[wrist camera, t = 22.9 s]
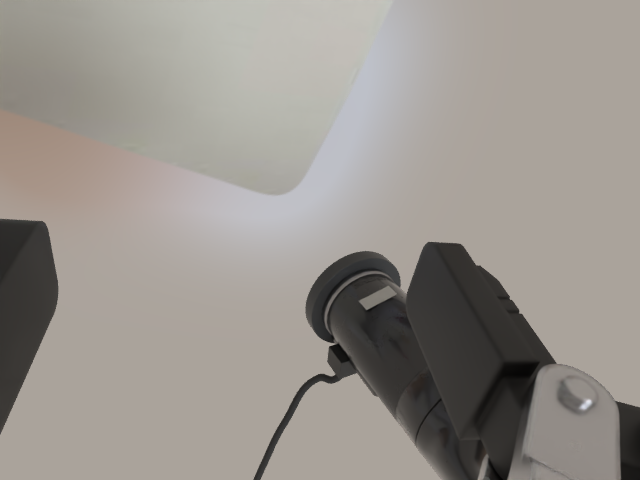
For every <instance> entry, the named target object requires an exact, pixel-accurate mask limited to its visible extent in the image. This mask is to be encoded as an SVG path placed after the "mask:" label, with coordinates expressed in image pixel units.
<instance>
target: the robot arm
mask: <svg viewBox="0 0 640 480" xmlns="http://www.w3.org/2000/svg"><path fill="white" fill-rule="evenodd" d="M509 298H510V296H509V295H508V294H507V292H506V291H505V289H504V288H503V286H502V285H501V284H500V282H499V281H498V280H497V279H496V278H495V277H493V276H492V275H491V274H490V273H489V272H487V271H486V270H485V269H484V268H482V267H481V266H476V265H475V263H474V262H473V260H472V259H471V257H470V256H469V254H468V252H467V251H466V250H465V248H464V247H463V246H462V245H461V244H457V243H439V242H428V243H427V244H426V245H425V246H424V247H423V250H422V252H421V255H420V258H419V261H418V263H417V266H416V269H415V272H414V275H413V277H412V280H411V283H410V286H409V289H408V292H407V294H406V293H405V292H404V291H403V290H402V289H401V288H400V287H399V286H397V285H396V284H395V283H394V281H393V280H392V279H391V278H390V277H389V276H388V275H387V274H386V273H385V272H384V271H382V270H379V269H374V268H369V269H363V270H359V271H357V272H354V273H352V274H351V275H349V276H347V277H346V278H344V279H343V280H342V281H341V282H339V283H338V284H337V285H336V286H335V287H334V289H333V290H332V291H331V292H330V294H329V296H328V297H327V299H326V301H325V304H324V306H323V311H322V320H323V324H324V326H325V327H326V329H327V330H328V332H329V333H330V334H331V335H332V337H331V338H332V340H333V341H334V343H335V344H336V345H333V346H330V347H329V353H328V361H327V362H328V363H329V365H330V366H331V368H332V369H333V371H334V372H335V374H336V375H334V376H332V377H331V376H328V375H325V374H318V375H316V376H314V377H312V378H311V379H309V380H308V381H307V382H306V383H304V384H303V386H302V387H301V388H300V389H299V391H298V392H297V394H296V396H295V397H294V399H293V401H292V403H291V405H290V407H289V409H288V411H287V413H286V415H285V416H284V418H283V420H282V421H281V423H280V425H279V426H278V428H277V430H276V432H275V433H274V435H273V438H272V439H271V442H270V444H269V446H268V448H267V450H266V453H265V455H264V457H263V459H262V462H261V464H260V466H259V468H258V470H257V473H256V475H255V477H254V480H260V479H261V477H262V475H263V473H264V470H265V468H266V466H267V464H268V461H269V459H270V457H271V455H272V453H273V451H274V448H275V446H276V444H277V442H278V440H279V438H280V436H281V434H282V433H283V431H284V429H285V427H286V426H287V424H288V422H289V421H290V419H291V417H292V416H293V414H294V412H295V410H296V408H297V406H298V404H299V402H300V400H301V398H302V397H303V395H304V394H305V392H306V391H307V390H308V389H309V388H310V387H311V386H312V385H314V384H315V383H317V382H319V381H324V382H327V383H331V384H332V383H335V382H337V381H340V380H341V379H342V378H344V377H347V376H350V375H352V374H355V373H357V374H358V375H359V376H360V378H361V379H362V380H363V382H364V383H365V384H366V386H367V387H368V388H369V390H370V391H371V392H372V394H373V395H374V396H378V397H379V398H380V399H381V401H382V402H383V403H384V405H385V406H386V407H387V409H388V410H389V411H390V413H391V414H392V415H393V417H394V418H395V419H396V421H397V422H398V423H399V424H400V426H401V427H402V428H403V430H404V431H405V432H406V434H407V435H408V436H409V438H410V439H411V440H412V442H413V443H414V444H415V446H416V447H417V449H418V450H419V451H420V453H421V454H422V455H423V457H424V458H425V459H426V461H427V462H428V463H429V464H430V466H431V467H432V468H433V469H434V471H435V472H436V473H437V474H438V476H439V477H440V478H441V479H442V480H640V407H635V406H632V405H628V404H625V403H621V402H617V401H615V400H614V399H613V397H612V396H611V394H610V393H609V392H608V391H607V390H606V389H605V387H603V386H602V385H601V384H600V383H599V382H598V381H597V380H595V379H594V378H593V377H591V376H589V375H588V374H586V373H585V372H583V371H581V370H579V369H576V368H574V367H571V366H567V365H563V364H557V363H556V362H555V360H554V359H553V358H552V356H551V355H550V353H549V352H548V350H547V349H546V348H545V346H544V345H543V343H542V342H541V341H540V339H539V338H538V336H537V335H536V333H535V332H534V331H533V329H532V328H531V326H530V325H529V323H528V322H527V321H526V319H525V318H524V316H523V315H522V314H519V309H518V308H517V306H516V305H515V303H514V302H513V301H512V300H510V299H509ZM57 300H58V280H57V275H56V270H55V264H54V259H53V253H52V249H51V243H50V237H49V232H48V228H47V226H46V224H45V223H44V222H43V221H28V220H10V219H0V434H1V432H2V429H3V427H4V425H5V423H6V420H7V418H8V416H9V413H10V411H11V409H12V407H13V405H14V402H15V400H16V398H17V396H18V393H19V391H20V389H21V387H22V384H23V382H24V380H25V378H26V375H27V373H28V371H29V369H30V366H31V364H32V362H33V360H34V357H35V355H36V353H37V351H38V348H39V346H40V344H41V341H42V339H43V337H44V335H45V333H46V330H47V328H48V326H49V323H50V321H51V319H52V317H53V315H54V312H55V309H56V305H57Z"/></svg>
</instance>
